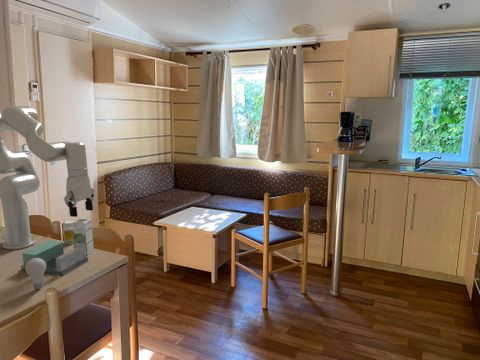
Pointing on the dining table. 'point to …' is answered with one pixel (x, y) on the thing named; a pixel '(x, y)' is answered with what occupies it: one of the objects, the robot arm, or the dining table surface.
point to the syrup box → (83, 234)
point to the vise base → (54, 268)
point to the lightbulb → (36, 271)
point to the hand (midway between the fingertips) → (81, 213)
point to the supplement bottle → (68, 233)
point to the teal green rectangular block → (44, 252)
